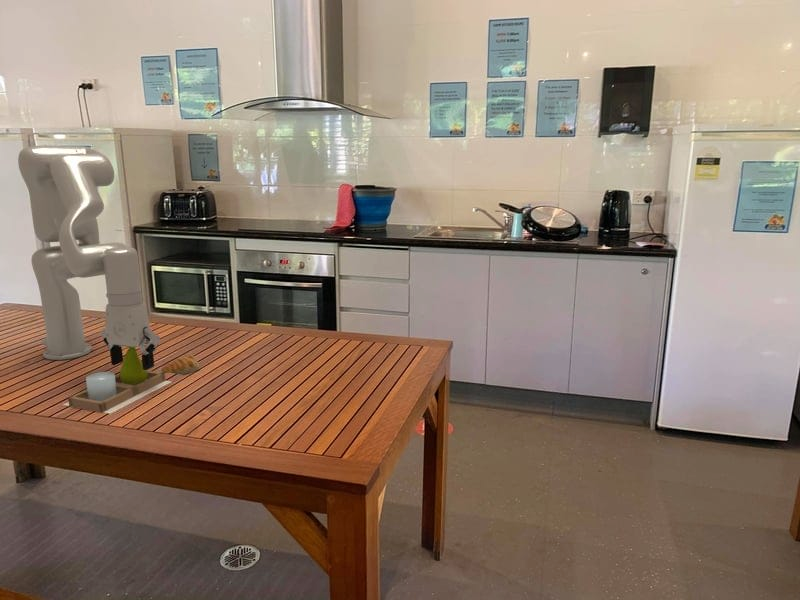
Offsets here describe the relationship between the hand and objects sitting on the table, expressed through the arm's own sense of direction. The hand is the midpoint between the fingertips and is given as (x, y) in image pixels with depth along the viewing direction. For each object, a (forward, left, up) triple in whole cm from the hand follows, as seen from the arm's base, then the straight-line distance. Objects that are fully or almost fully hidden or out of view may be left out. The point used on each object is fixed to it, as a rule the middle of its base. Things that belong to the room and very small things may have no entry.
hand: (133, 365), depth 147 cm
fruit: (0, 0, -5) cm, 5 cm away
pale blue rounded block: (0, -10, -5) cm, 11 cm away
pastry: (+2, +15, -7) cm, 16 cm away
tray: (0, -5, -6) cm, 8 cm away
